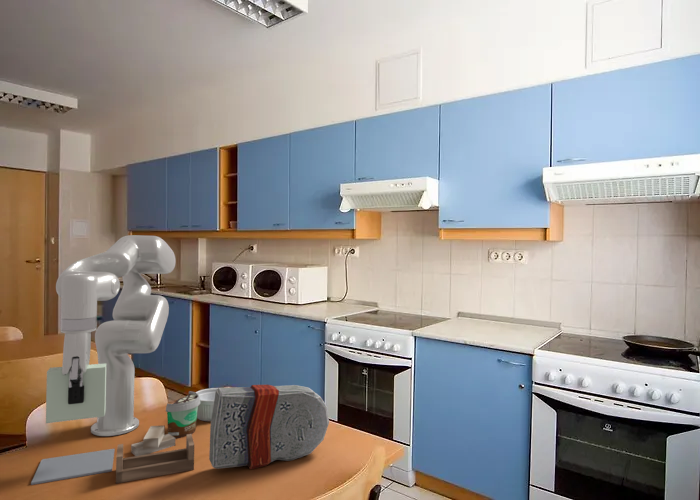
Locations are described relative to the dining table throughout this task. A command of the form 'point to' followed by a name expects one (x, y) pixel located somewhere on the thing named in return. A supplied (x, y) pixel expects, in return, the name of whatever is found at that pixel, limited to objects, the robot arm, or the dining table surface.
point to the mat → (74, 466)
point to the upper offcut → (153, 437)
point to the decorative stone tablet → (265, 425)
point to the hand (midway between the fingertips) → (77, 399)
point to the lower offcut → (165, 443)
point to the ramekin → (206, 404)
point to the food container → (183, 415)
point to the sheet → (92, 395)
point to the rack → (154, 463)
